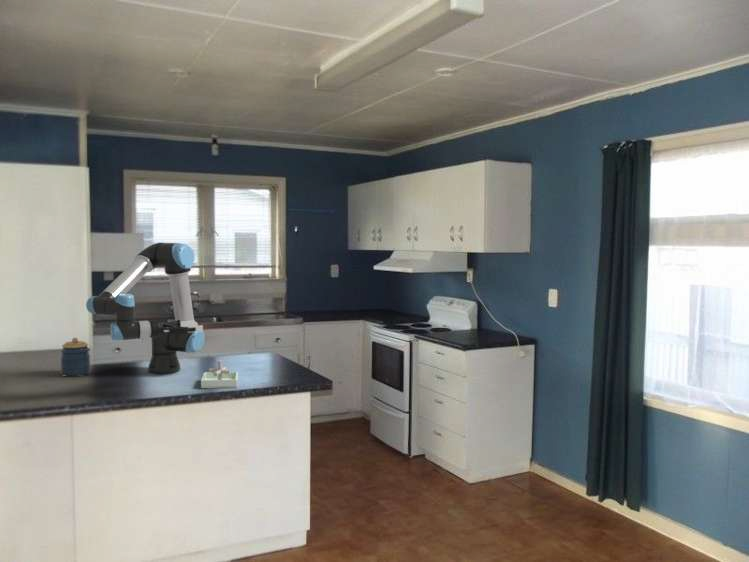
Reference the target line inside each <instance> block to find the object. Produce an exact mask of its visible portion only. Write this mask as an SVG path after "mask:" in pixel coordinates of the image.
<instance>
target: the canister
mask: <svg viewBox="0 0 749 562" xmlns="http://www.w3.org/2000/svg"><path fill="white" fill-rule="evenodd" d="M61 347H62V349H60V351H59V352H60V353H61V356H60V374H62V375H66V376H78V375H84V376H86V375H85V374H88V375H89V374H90V373H91V354H90V350H91V348H90V347H89V344H88V343H87V342H86V341H84V340H79V338H77V337H73V338H72V339H71V340H70V341H67V342H65V343H63V344H62V345H61ZM62 375H61V376H62Z"/></svg>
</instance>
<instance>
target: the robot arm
mask: <svg viewBox="0 0 749 562" xmlns="http://www.w3.org/2000/svg"><path fill="white" fill-rule="evenodd" d="M194 262H195V254H194V251H193V249H192V248H191V246H189V245H188V244H186V243H180V242H155V243H153V244H151V245H149V246H148V247H147V246H146V247H145V248H144V249H143V250H141V251H140V252H139V253H138V254H136V256H135V257H134V259H133V262H132V263H130V265H129V266H128V267H127V268H125V270H124V271H122V273H121V274H119V275H118V276H117V277H116V278H115V279H114V280H113V281H112V282H111V283H110V284H109V285H108V286H107V287H106V288H105V289H104V290H103V291H102V292H101V293H100V294H98V295H93V296H90V297H89V298H88V299H87V301H86V304H85V305H86V306H85V307H86V310H87V311H88V313H91V314H93V315H100V316H101V315H103V316H104V315H105V316H115V322H111V323H110V329H109V330H110V338H111V339H112V340H113V341H127V340H140V339H141V340H142V341H143V340H145V339H150V338H151V357H150V360H149V364H148V365H147V366H148V367H147V368H148V369H147V371H148V373H151V374H157V375H161V374H163V375H164V374H172V373H173V374H174V373H177V372H180V371H181V363H180V361H179V360H180V359H178V358H179V357H178V355H177V352H182V353H187V354H190V353H191V354H192V353H193V354H194V353H197V352H199V351H200V350H201V349H202V347H203V346H204V343H205V337H206V336H205V332H204V325H199V323H198V322H197V321H196V320H195V318H194V317H195V315H194V310H193V301H192V294H191V287H190V286H191V285H190V281H189V273H190V272H191V271H192V270H191V268H192V267H193V266H194ZM157 268H163V269H164V272H165V275H167V276H168V278H169V283H170V284H169V285H170V291H171V299H172V306H173V312H174V321H168V322H160V321H159V320H157V319H156V320H154V319H153V320H149V321H148V320H138V321H136V319H135V318H136V316H135V312H136V311H135V308H136V307H135V306H136V303H135V296H134V295H133V294H132V293H128V292H129V291H130V290H132V288H133V287H134V286H135V285H136V284H137V283H138V282H139V281H140V280H141V279H142V278H143V277H144V276H145V275H146V274H147V273H151V272H152V271H153V270H154V269H157Z"/></svg>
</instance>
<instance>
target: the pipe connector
mask: <svg viewBox="0 0 749 562" xmlns="http://www.w3.org/2000/svg"><path fill="white" fill-rule="evenodd" d="M208 372H212V373H214V376H217V375H218V380H222V373H224V374H231V372H232V370H231V369H227V367H226V366H223V360H221V359H219V360H217V368H209V369H208Z"/></svg>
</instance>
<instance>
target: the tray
mask: <svg viewBox="0 0 749 562" xmlns="http://www.w3.org/2000/svg"><path fill="white" fill-rule="evenodd" d="M237 383H239V371H231V374H224V373H222V380H218V375H217V376H214V373H212V372H209V371H205V372H204V373H203V374H202V378H201V380H200V389H201V388H220V389H237V388H238V384H237Z"/></svg>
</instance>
